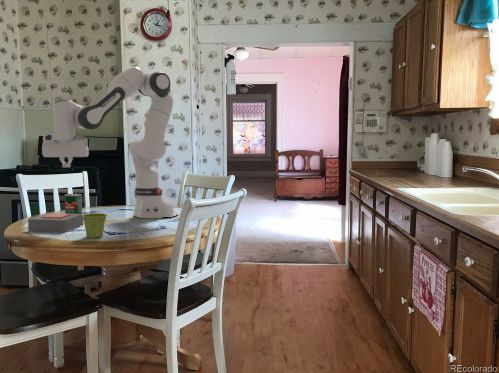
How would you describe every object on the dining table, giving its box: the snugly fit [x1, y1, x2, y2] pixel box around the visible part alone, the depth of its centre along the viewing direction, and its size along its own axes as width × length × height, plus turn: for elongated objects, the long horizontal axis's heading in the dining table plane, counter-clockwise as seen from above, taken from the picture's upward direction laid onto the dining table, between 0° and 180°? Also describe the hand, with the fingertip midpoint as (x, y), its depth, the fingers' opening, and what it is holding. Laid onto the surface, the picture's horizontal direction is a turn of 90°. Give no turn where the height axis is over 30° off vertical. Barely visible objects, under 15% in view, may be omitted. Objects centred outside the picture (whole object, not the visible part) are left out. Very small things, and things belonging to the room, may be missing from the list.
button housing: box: [27, 212, 84, 233], centre depth 192 cm, size 16×16×5 cm
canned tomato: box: [64, 193, 83, 214], centre depth 220 cm, size 8×8×11 cm
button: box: [43, 214, 70, 218], centre depth 192 cm, size 8×8×4 cm
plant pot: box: [82, 212, 108, 239], centre depth 176 cm, size 9×9×9 cm
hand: (66, 167), depth 201 cm, fingers closed
